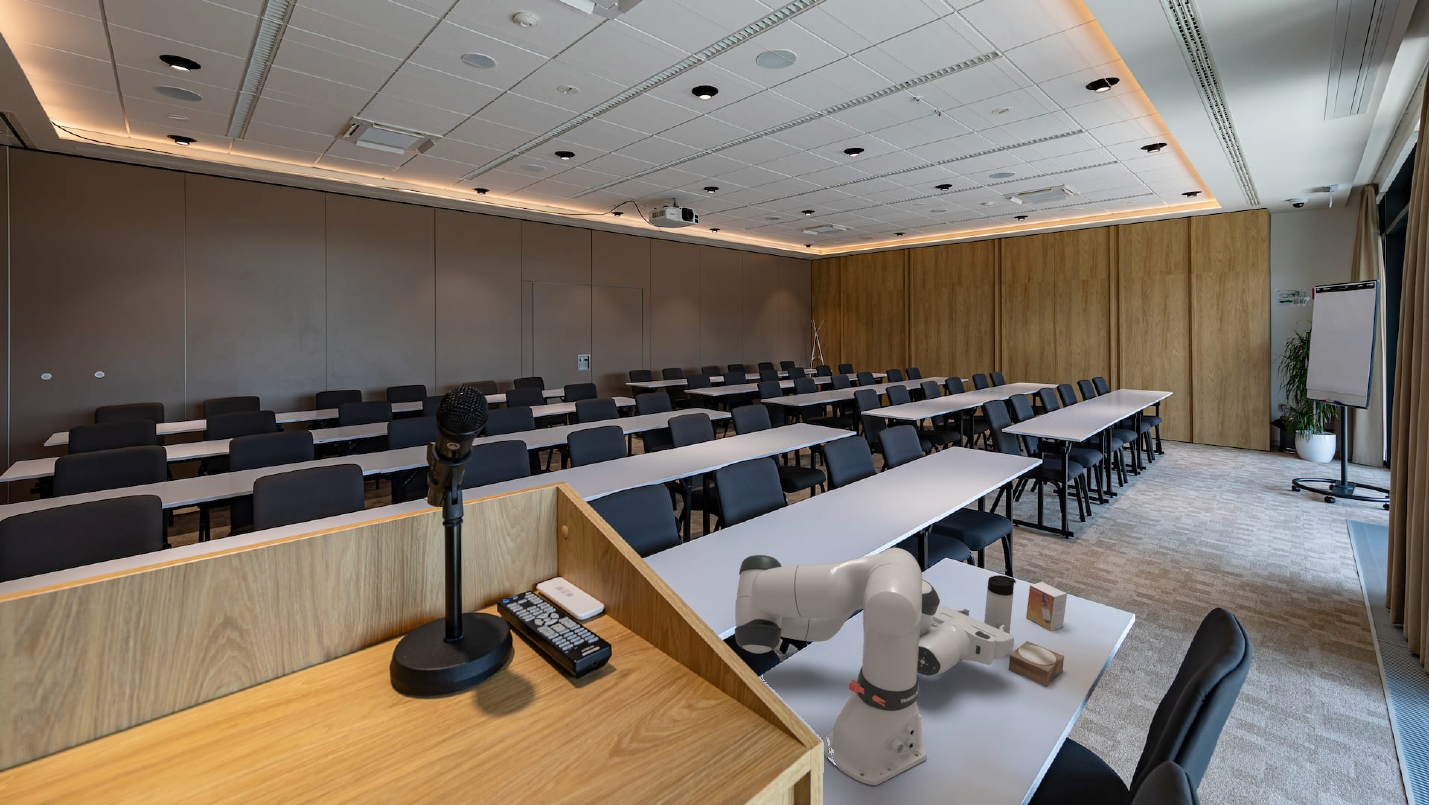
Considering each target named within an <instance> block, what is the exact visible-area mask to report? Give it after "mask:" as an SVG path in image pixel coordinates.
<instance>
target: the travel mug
mask: <svg viewBox="0 0 1429 805" xmlns="http://www.w3.org/2000/svg"><path fill="white" fill-rule="evenodd" d="M1016 583H1017V580H1016V579H1015V578H1014V577H1009V576H1006V575H1000V574H999V575H993V576H992V575H991V576H990V577H989V578H988V580H987V586H986V599H985V609H984V610H985V611H984V622H983V623H985V624H988V625H990V626H992V627H995V628H996V625H997V624H998V623H1000V624H1003V625H1005V630H1004V632H1006V633H1009V634H1011V633H1010V632H1011V623H1012V622H1011V621H1012V612H1013V600H1014V589H1015V588H1014V586H1015V584H1016Z"/></svg>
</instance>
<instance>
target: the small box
mask: <svg viewBox="0 0 1429 805" xmlns="http://www.w3.org/2000/svg"><path fill="white" fill-rule="evenodd" d="M1067 596H1068V593H1067V592H1065V591H1063V590H1060V589H1058V588H1056V587H1054V586H1052V585H1050V584H1047V583H1045V582H1044V581H1040V582H1036V583H1034V584H1030V585H1029V590H1028V598H1027V607H1026V614H1025V616H1026V619H1029V621H1031V622H1034V623H1036V624H1038V625H1040V626H1041V627H1042V628H1044V629H1046V630H1047V629H1048V631H1049V632H1051V631H1053V630H1057V629H1060V627H1061V628H1063V627H1064V620H1065V615H1066V614H1065V613H1066V606H1067V605H1066V604H1067V598H1068V597H1067Z"/></svg>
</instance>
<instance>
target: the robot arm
mask: <svg viewBox="0 0 1429 805" xmlns="http://www.w3.org/2000/svg"><path fill="white" fill-rule="evenodd" d="M738 574H739V579H738V584H737V592H736V599H735V606H734V607H735V609H734V610H735V612H734V613H735V614H734V616H735V628H734V637H735V641H736V644H737V645H738V646H739V648H741V649H743V650H745V651H747V652H749V653H752V654H764V653H768V652H771V651H774V650H775V649H776V648H777V647H778V646H779V644H780V641H781V637H783V638H788V639H793V640H798V641H806V642H815V643H817V642H819V643H820V642H825V641H828V640H831V639H833V638H834V637H835V636H836V635H838V633H839V631H841V629H842V627H844V624H845V623H846V622H847V620H849V618H850V617H851V616H852V615H853V614H854V613H855V612H856V611H858V610H862V621H863V622H862V624H863V626H862V627H863V644H862V645H863V646H862V648H863V649H862V666H861V667H860V670H859V674H858V676H857V681H856V680H854V679H852V680H850V681H849V684H848V689H849V691H852V692H853V693H852V694H851V696H850V697H849V699H848V700H847V702H846V703H845V705H844V707H843V708H842V709H841V711H840V712H839V714H838V716H837V717H836V719H835V722H834V726H833V728H831V730H829V732H828V733H827V734H826V736H827V738H829V740H830V745H829V746H828V742H827V738H826V736H825V737H824V738H823V739H822V740H823V742H824V754H823V756H824V757H825V759H827V758H828V757H829V758H831V759H833V760H834V762H835V763H836V765H837V766H838V768H839V769H838V768H837V769H838V770H840V771H841V772H842V773H844V774H845V775H847V776H848V777H850V778H852V779H854V780H856V781H858V782H861V783H863V784H865V785H870V786H878V785H880V784H882V783H884V782H886V781H888V780H889V779H891V778H893V777H895V776H897V775H900V774H902V773H903V772H905V771H908V770H909V769H911V768H913V767H914V766H916V765H919V764H921V763H922V762H924V761H926V760H927V757H928V756H927V751H926V749H925V747H924V745H923V732H922V731H923V727H922V723H923V722H922V716H921V712H920V709H919V707H918V701H917V700H918V697H919V690H920V685H919V677H918V673H919V674H920V675H923V676H926V677H935V676H936V677H937V676H938V675H942V674H945V673H946V672H947V671H949V670H950V669H951V668H953V667H955V666H956V665H957V664H958V662H960V661H962V660H965V661H972V662H975V663H976V662H977V663H979V664H984V665H987V666H990V665H992V664H993V663H994V660H1000V659H1002V658H1004V657H1005V656H1007V655H1010V653H1011V652H1013V650H1014V644H1015V637H1014V635H1013V634H1011V633H1010V634H1009V633H1006V632H1004V630H1005V625H1003V624H1000V623H998V624H997V625H996V628H995V627H992V626H990V625H988V624H985V623H984V622H982V621H980V620H978V619H976V618H974V617H971V616H970V610H968V609H967V608H964V607H963V608H962V609H952V608H949V607H947V606H946V605H943V604H941V600H940V598H939V594H938V592H937V591H936V589H935V588H934V586H933V585H932V584H931V583H930V582H928V581H926V580H924V579H923V573H922V569H921V567H920V565H919V563H918V561H917V559H916V558H915V557H914V556H913V555H912V553H910V552H909V551H907V550H905V549H903V548H899V547H891V548H885V549H884V550H882V551H881V552H878V553H876V554H872V555H868V556H862V557H859V558H858V557H857V558H854V559H850V560H846V561H841V562H835V563H818V564H817V563H814V564H813V563H812V564H797V565H796V564H795V565H794V564H793V565H783V566H782V564H781V563H780V562H779V561H778V559H776V558H775V557H773V556H771V555H765V554H756V555H754V554H753V555H749V556H748V557H746V558H745V559H743V560H742V561H741V565H740V568H739V572H738ZM829 748H830V749H829ZM831 748H832V749H833V750H834V753H832V755H831V753H829V750H830V751H831ZM833 754H834V755H833ZM832 757H833V758H832Z"/></svg>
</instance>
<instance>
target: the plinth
mask: <svg viewBox="0 0 1429 805" xmlns="http://www.w3.org/2000/svg"><path fill="white" fill-rule="evenodd" d="M1064 660H1065V655H1062V654H1060V653H1057V652H1055V651H1053V650H1051V649H1048V648H1045V647H1043V646H1040V645H1038V644H1035V643H1034V642H1031V641H1029V640H1026V641H1025V642H1024V643H1023V644H1021V645H1020V646H1019V647H1018V648H1016V650H1014V651H1012V653H1011V654H1009V660H1008V671H1011V672H1013V673H1016V675H1020V676H1021V677H1024V678H1027V679H1028V680H1031V681H1033V682H1034V683H1037V684H1039V685H1042V686H1044V687H1047V686H1048V685H1050V684H1051V683H1052V682H1053V681H1055V679H1056V678H1057V677H1058V676H1059V675H1060V674H1061V673H1062V672H1063V671H1064V670H1063V669H1064Z"/></svg>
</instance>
